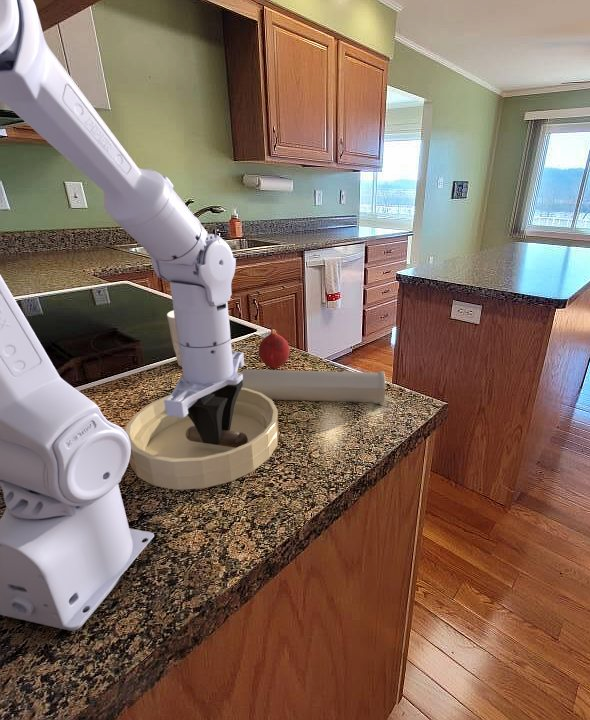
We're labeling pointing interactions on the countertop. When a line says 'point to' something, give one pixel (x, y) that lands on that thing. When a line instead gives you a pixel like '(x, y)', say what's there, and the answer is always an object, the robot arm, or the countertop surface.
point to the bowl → (200, 445)
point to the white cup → (174, 335)
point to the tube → (317, 385)
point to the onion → (274, 350)
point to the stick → (227, 437)
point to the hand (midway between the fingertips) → (216, 437)
